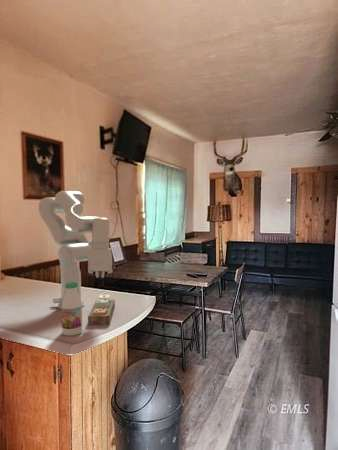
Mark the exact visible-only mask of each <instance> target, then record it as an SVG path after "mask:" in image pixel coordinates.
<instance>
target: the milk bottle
mask: <svg viewBox="0 0 338 450" xmlns="http://www.w3.org/2000/svg"><path fill="white" fill-rule="evenodd" d="M77 286H78V284H77V282H68V283H66V284H65V287H66V294H65V296H64V299H63V302H62V309H61V331H62V335H64V336H68V337H72V336H77V335H79V334H81V333H82V332H83V307H82V303H81V301H82V298H81V299H80V297H79V295H78V292H77Z"/></svg>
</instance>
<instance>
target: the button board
mask: <svg viewBox="0 0 338 450" xmlns="http://www.w3.org/2000/svg"><path fill="white" fill-rule="evenodd" d="M97 300H98V299H96V300H95V302H94V304H93V305H92V308H91V310H90V311H89V313H88V316H87V325H88V326H91V327H92V326H110V324H111V322H112V319H113V315H114V312H115V308H116V302H115V300H116V299H113V298H112V299H110V304H109V308H108V309H107V314H106V315H93V312H94V310H95V309H96V302H97Z"/></svg>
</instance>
